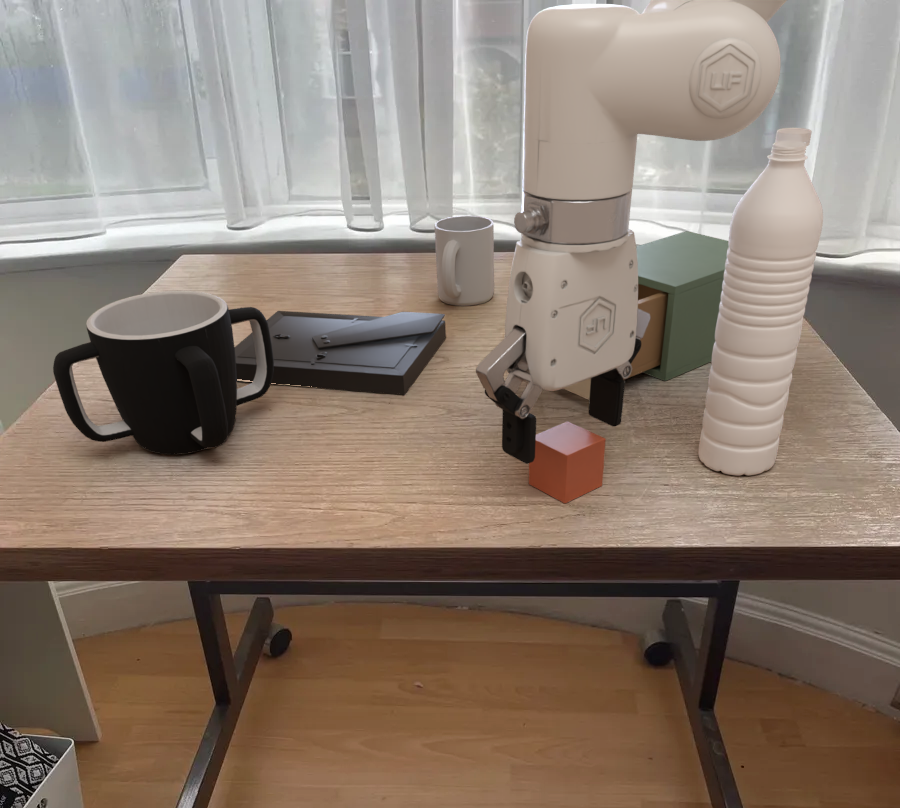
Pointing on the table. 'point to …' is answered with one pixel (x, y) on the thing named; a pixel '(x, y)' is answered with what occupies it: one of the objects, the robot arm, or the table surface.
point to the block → (567, 462)
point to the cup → (465, 260)
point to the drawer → (651, 341)
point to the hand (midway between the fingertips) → (562, 438)
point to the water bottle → (761, 311)
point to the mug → (167, 369)
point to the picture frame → (347, 350)
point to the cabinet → (685, 296)
